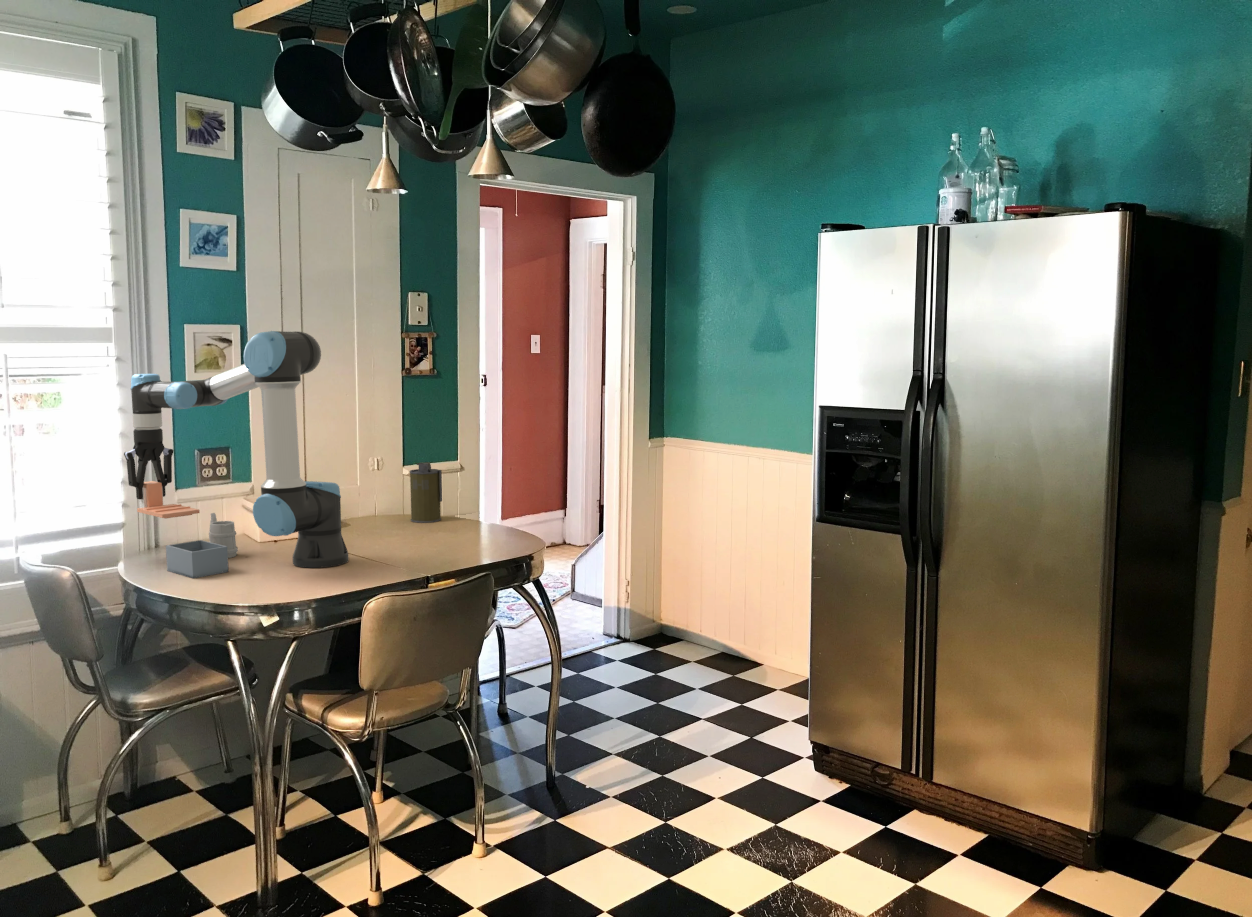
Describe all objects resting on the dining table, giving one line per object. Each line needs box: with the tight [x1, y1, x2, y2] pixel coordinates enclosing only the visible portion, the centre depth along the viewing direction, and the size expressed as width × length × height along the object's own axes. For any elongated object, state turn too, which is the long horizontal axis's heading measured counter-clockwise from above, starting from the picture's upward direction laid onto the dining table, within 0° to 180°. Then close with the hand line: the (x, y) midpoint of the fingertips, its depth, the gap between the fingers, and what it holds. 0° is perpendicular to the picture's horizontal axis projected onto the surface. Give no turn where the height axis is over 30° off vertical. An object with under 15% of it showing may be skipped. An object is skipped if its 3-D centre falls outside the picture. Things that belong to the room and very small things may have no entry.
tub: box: [165, 539, 229, 579], centre depth 282 cm, size 14×10×7 cm
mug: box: [208, 512, 239, 559], centre depth 303 cm, size 8×12×12 cm, turn 46°
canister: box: [409, 462, 443, 524], centre depth 360 cm, size 11×10×20 cm
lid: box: [136, 480, 200, 519], centre depth 293 cm, size 20×11×8 cm, turn 50°
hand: (151, 509), depth 298 cm, fingers closed on lid, 4 cm apart
